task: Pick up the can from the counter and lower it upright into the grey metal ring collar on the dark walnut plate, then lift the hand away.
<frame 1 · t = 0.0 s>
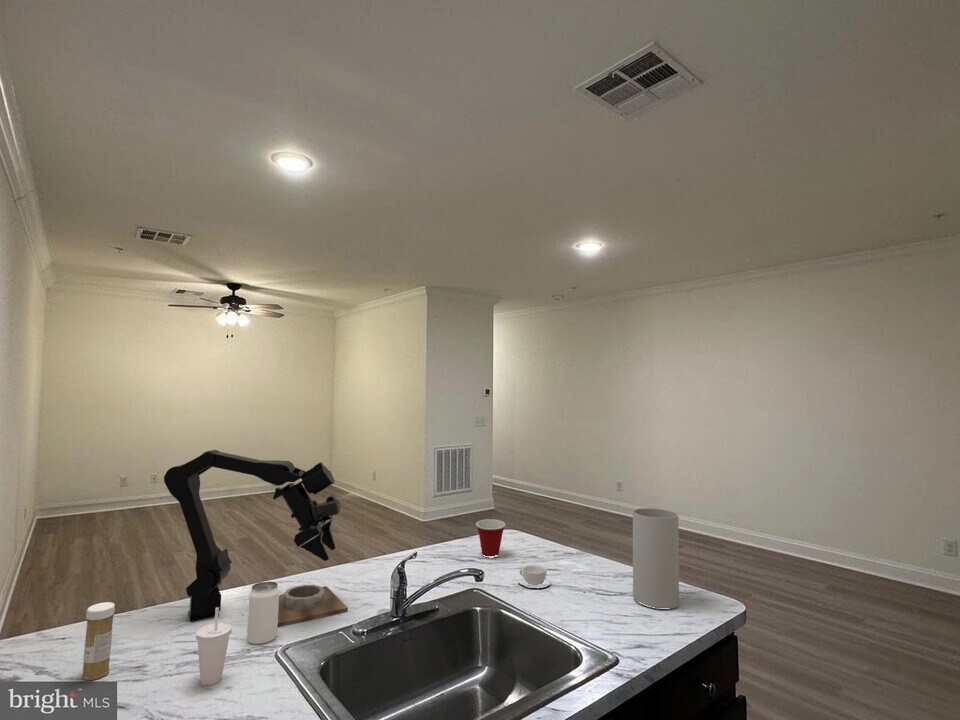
hand: (330, 554, 133), 15 cm above the table, tool tilted 35°, fingers open, 9 cm apart
cylinder vase: (655, 602, 144), on the table
plastic cup: (490, 557, 182), on the table
teacup: (534, 585, 156), on the table
base plate: (303, 606, 135), on the table
ring collar: (304, 597, 135), on the base plate, point 2 cm above the table
smoothie: (211, 681, 100), on the table
can: (261, 639, 117), on the table
sprinkles bottle: (95, 676, 101), on the table
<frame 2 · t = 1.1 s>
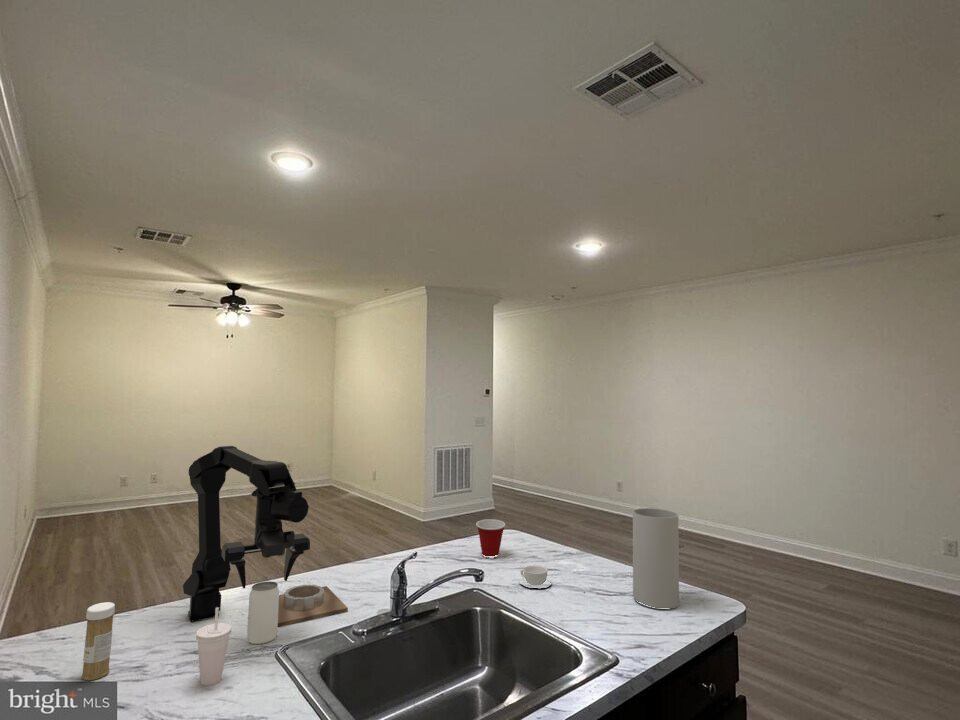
hand: (265, 584, 118), 12 cm above the table, tool pointing down, fingers open, 9 cm apart
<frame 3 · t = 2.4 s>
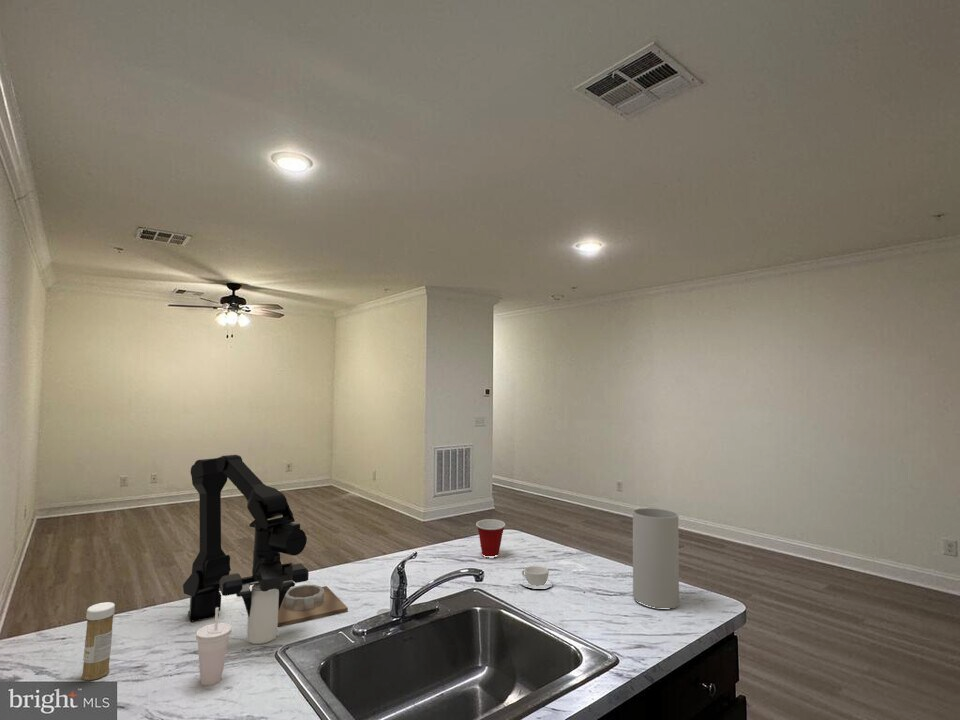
hand: (263, 616, 118), 5 cm above the table, tool pointing down, fingers closed on can, 5 cm apart
can: (262, 639, 117), on the table, touching gripper
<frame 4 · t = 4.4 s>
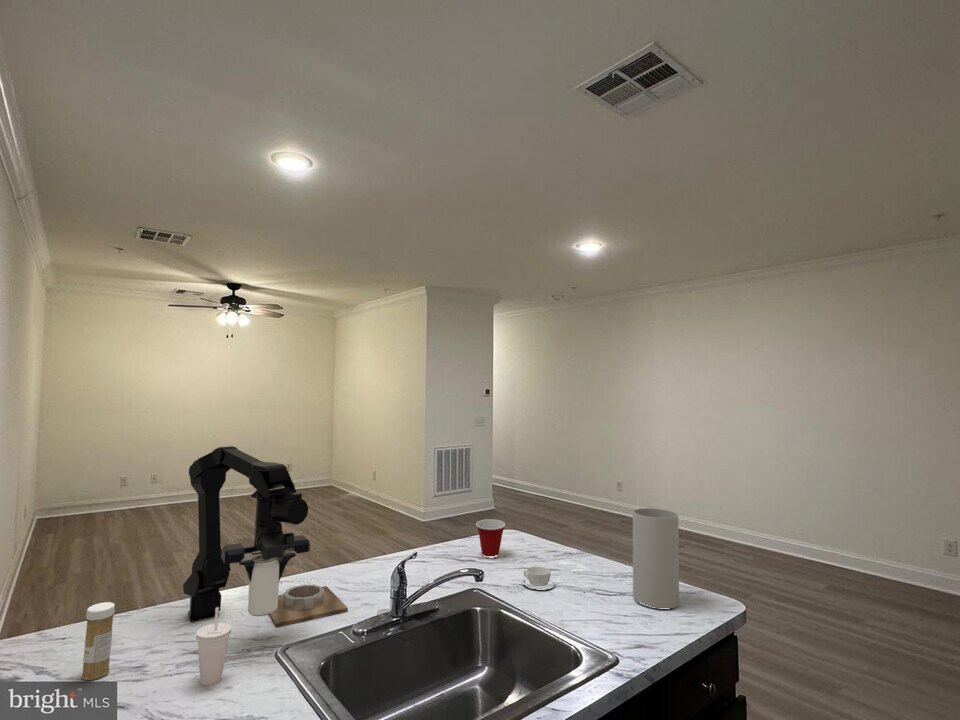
hand: (264, 586, 118), 12 cm above the table, tool pointing down, fingers closed on can, 5 cm apart
can: (262, 611, 118), point 6 cm above the table, touching gripper
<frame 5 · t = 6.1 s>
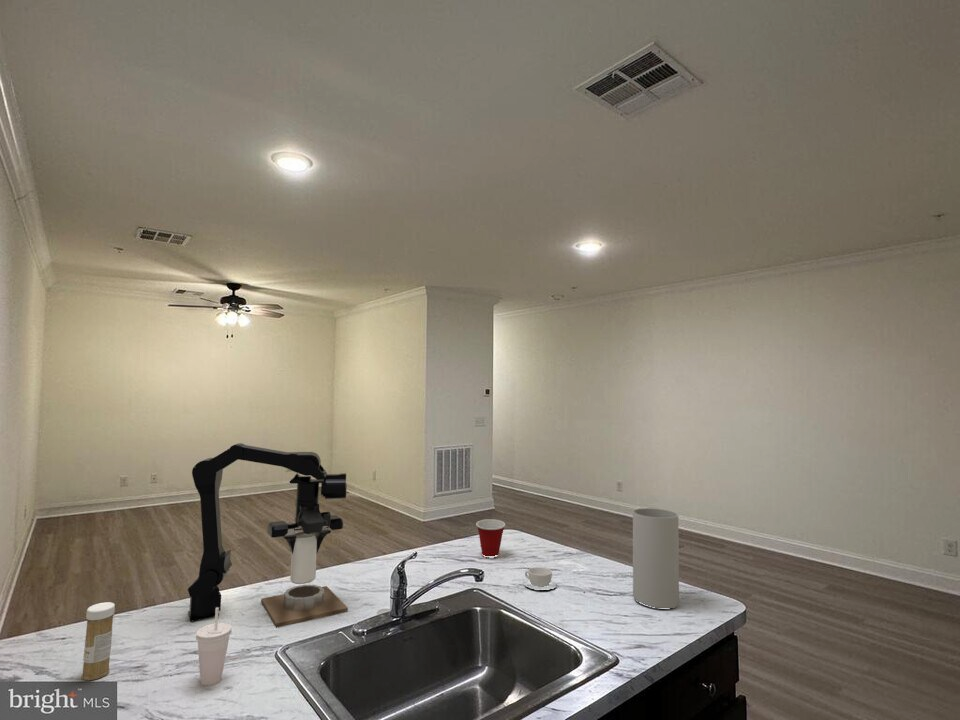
hand: (304, 558, 135), 13 cm above the table, tool pointing down, fingers closed on can, 5 cm apart
can: (303, 580, 135), point 7 cm above the table, touching gripper
when the fingers open (7 cm above the table, at t = 8.3 s): can stays where it is, resting on base plate.
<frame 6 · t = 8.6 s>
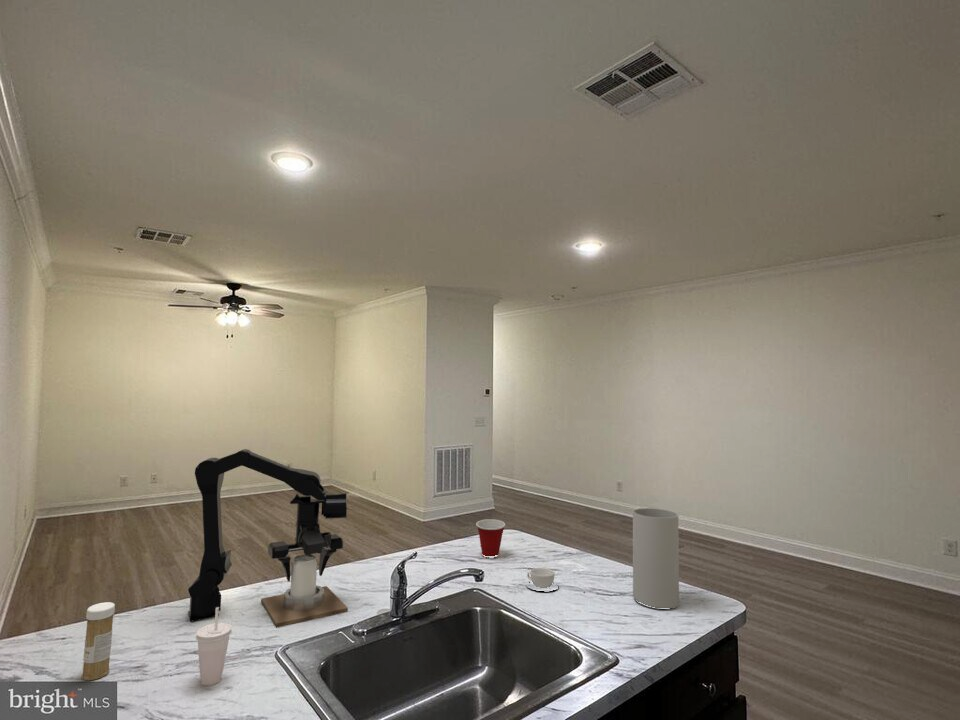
hand: (304, 578, 136), 7 cm above the table, tool pointing down, fingers open, 8 cm apart
can: (302, 604, 135), point 1 cm above the table, touching base plate
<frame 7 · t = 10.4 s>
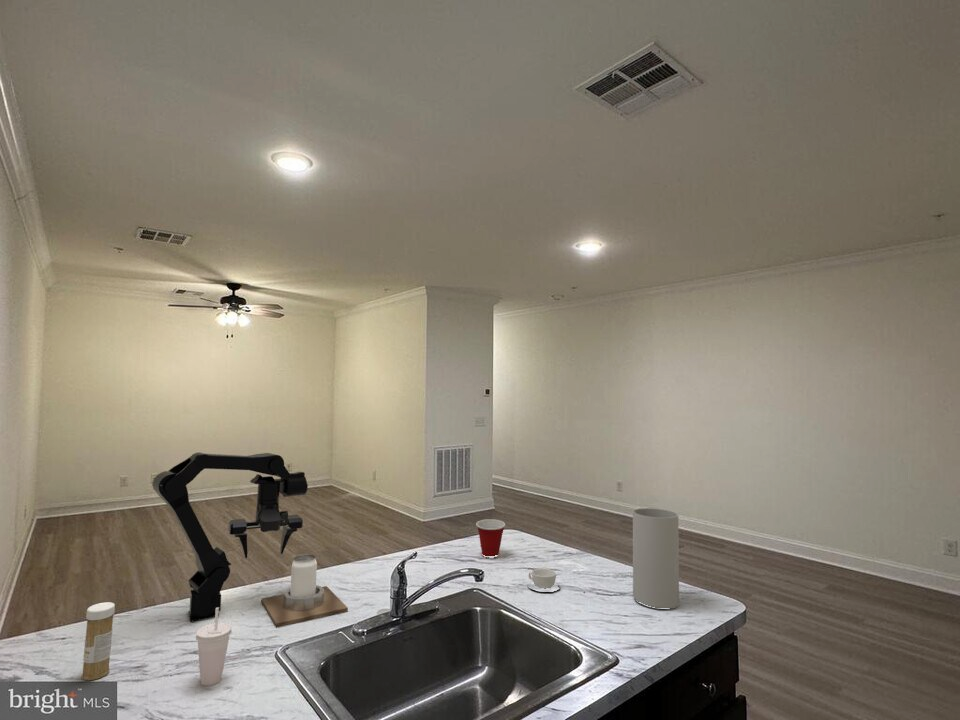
hand: (264, 555, 140), 12 cm above the table, tool pointing down, fingers open, 9 cm apart
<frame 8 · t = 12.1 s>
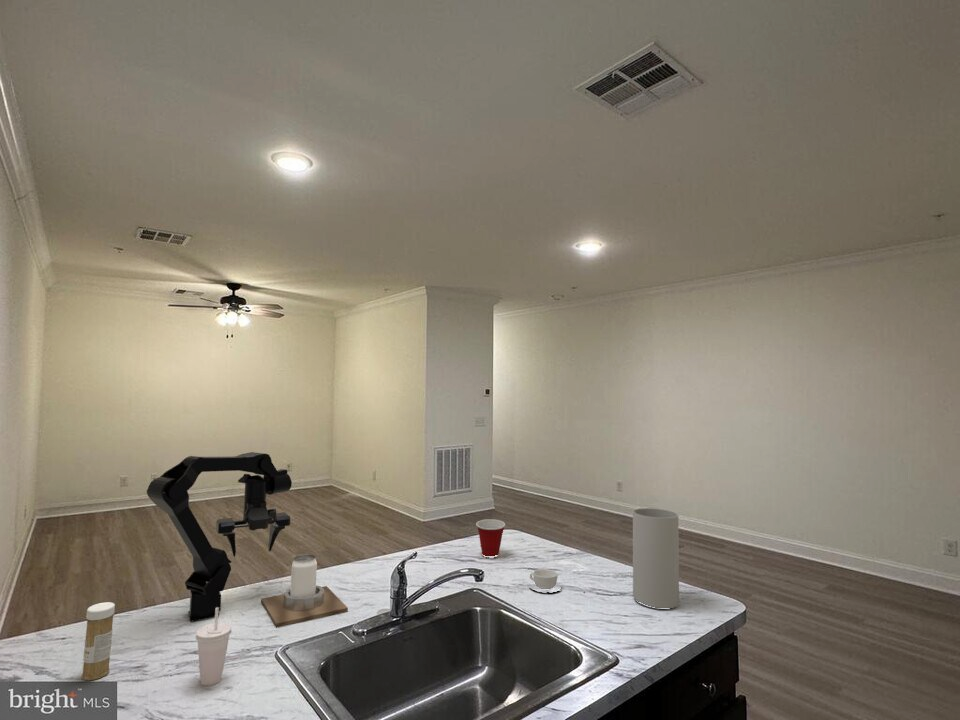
hand: (252, 553, 142), 12 cm above the table, tool pointing down, fingers open, 9 cm apart
at the end: can 0.3 cm off-centre on the ring collar, point 0.8 cm above the ring collar's base; can tilted 0°; the gripper is holding nothing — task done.
